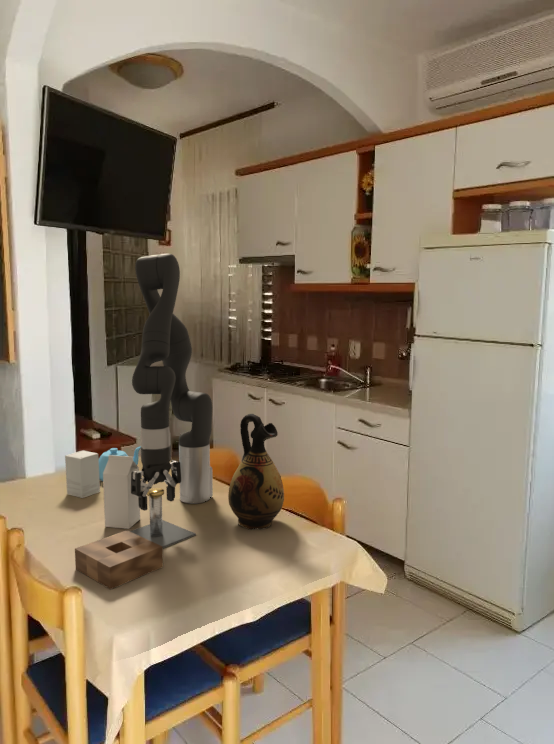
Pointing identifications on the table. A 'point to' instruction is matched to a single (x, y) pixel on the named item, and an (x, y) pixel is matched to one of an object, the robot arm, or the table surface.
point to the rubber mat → (165, 534)
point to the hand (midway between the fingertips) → (157, 505)
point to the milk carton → (120, 493)
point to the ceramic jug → (256, 479)
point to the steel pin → (155, 511)
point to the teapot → (114, 452)
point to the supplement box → (82, 474)
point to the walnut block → (118, 558)
